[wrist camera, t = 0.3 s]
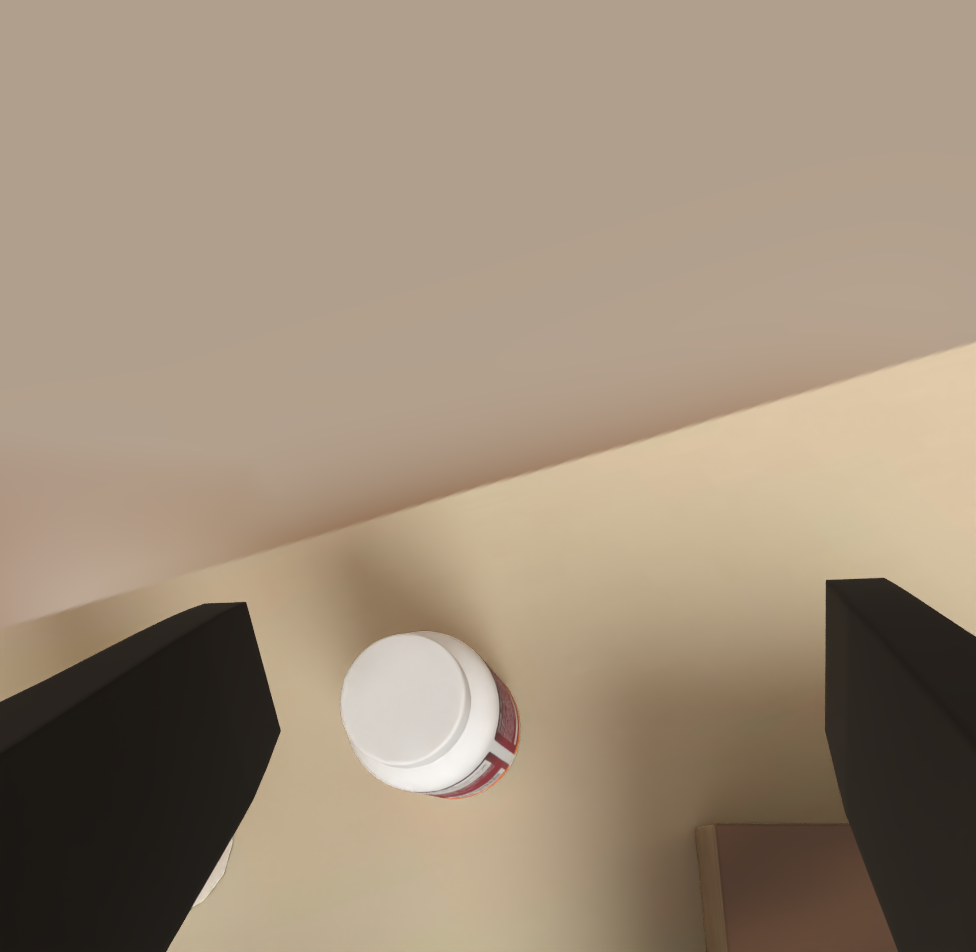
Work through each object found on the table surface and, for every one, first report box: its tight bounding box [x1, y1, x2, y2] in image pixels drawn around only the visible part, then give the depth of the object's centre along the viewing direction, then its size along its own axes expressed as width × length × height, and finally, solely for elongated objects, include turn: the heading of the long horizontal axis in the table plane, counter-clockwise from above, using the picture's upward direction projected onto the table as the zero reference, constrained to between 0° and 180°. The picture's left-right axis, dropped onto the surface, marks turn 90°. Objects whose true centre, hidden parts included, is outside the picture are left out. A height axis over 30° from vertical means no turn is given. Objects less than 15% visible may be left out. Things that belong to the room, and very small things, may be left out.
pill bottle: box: [340, 631, 520, 799], centre depth 34 cm, size 6×6×11 cm
